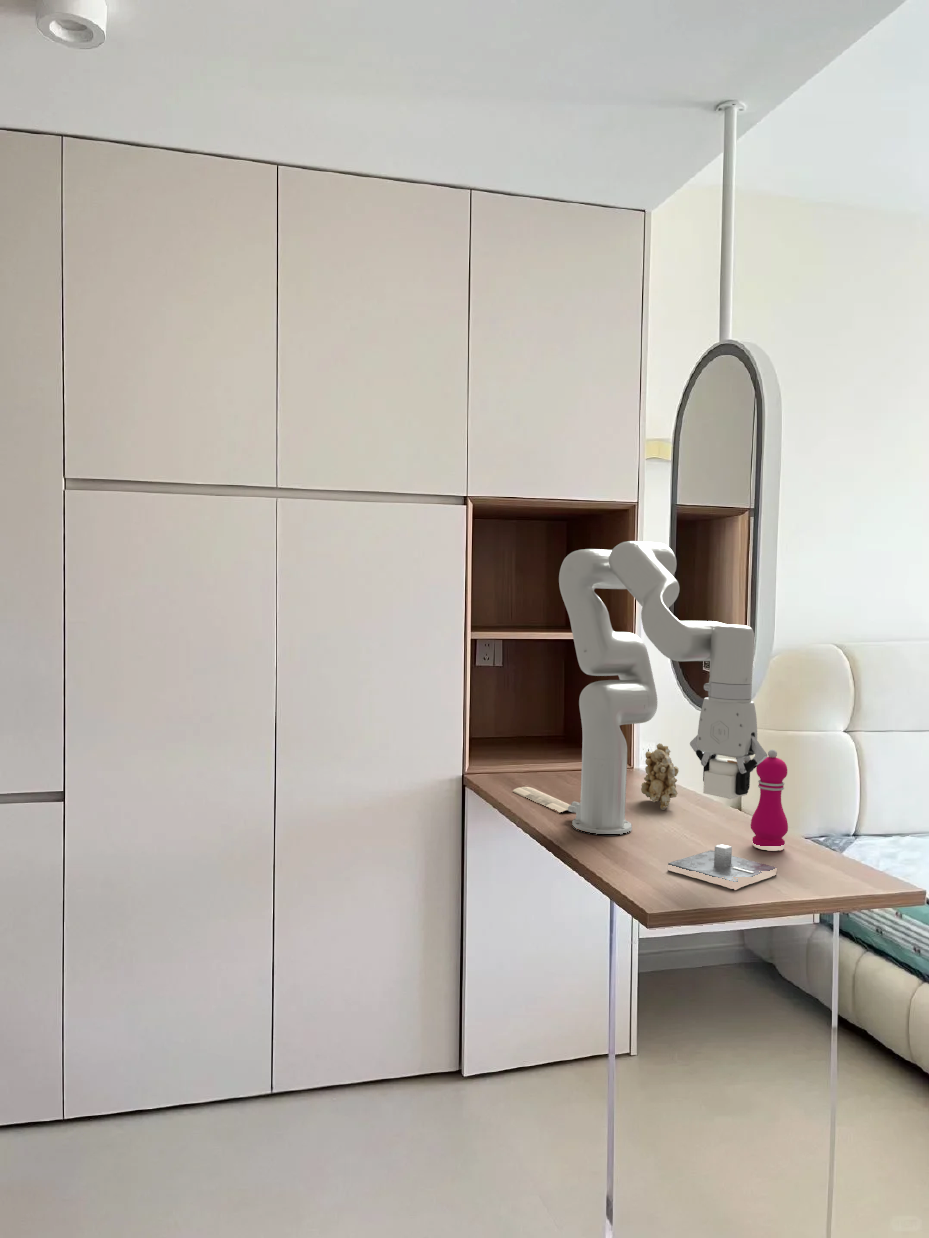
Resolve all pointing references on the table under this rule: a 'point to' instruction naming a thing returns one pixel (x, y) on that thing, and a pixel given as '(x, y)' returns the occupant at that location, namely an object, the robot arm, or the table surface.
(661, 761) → the mineral formation
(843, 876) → the table surface
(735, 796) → the knob
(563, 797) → the table surface
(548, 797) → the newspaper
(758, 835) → the pepper mill
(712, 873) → the grey thin square slab
